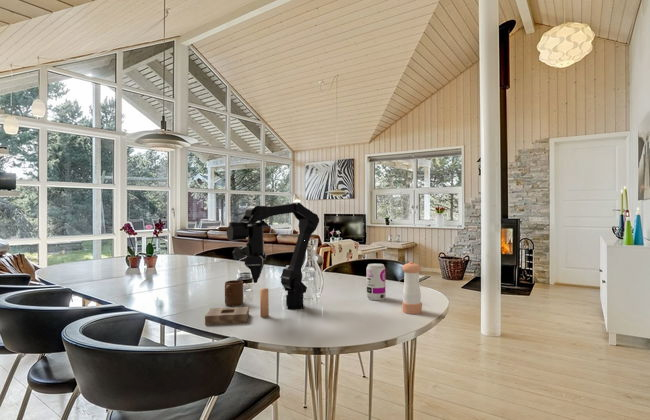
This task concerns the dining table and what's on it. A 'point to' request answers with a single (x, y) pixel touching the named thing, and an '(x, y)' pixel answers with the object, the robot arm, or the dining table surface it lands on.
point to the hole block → (227, 315)
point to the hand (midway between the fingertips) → (256, 280)
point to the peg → (264, 303)
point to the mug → (234, 292)
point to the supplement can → (376, 282)
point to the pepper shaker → (411, 289)
